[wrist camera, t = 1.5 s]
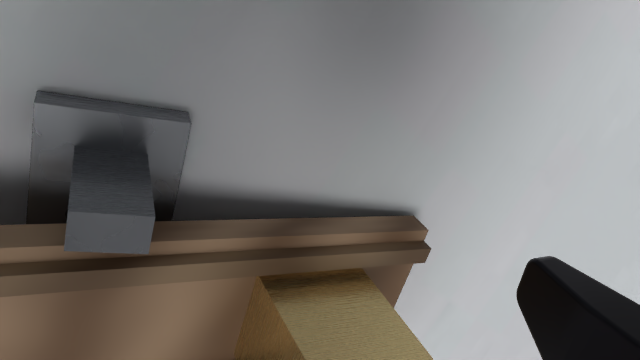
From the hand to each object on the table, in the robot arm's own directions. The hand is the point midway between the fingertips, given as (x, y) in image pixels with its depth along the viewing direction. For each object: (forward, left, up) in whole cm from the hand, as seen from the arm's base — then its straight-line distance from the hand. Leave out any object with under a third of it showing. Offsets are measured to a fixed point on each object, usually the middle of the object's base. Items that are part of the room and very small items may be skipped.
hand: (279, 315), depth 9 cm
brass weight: (-10, -6, -11) cm, 16 cm away
